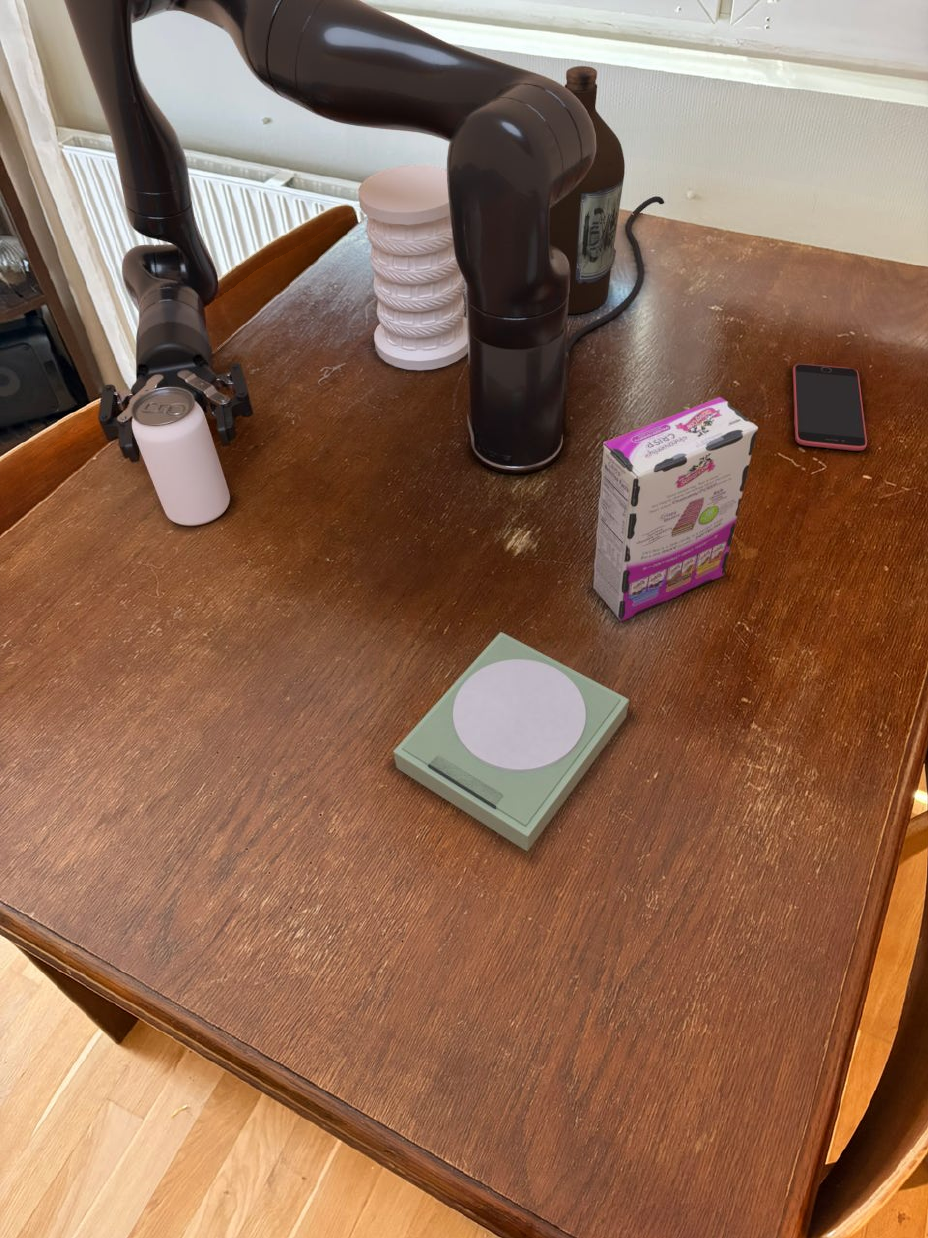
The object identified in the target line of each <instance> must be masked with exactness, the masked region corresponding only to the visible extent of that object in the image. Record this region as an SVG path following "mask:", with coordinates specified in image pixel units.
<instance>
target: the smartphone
mask: <svg viewBox="0 0 928 1238" xmlns="http://www.w3.org/2000/svg"><path fill="white" fill-rule="evenodd" d="M861 390H862V389H861V381H860V373H859V371H858V370H857V369H855V368H852V367H844V366H834V365H833V366H832V365H820V364H808V363H797V364H795V365H794V366H793V367H792V391H793V392H792V394H793V419H794V420H793V425H794V440H795V442H796V443H797V444H799V445H801V446H805V447H814V448H824V449H825V448H826V449H833V450H844V451H852V452H853V451H854V452H861V451H864V450H866V448H867V446H868V437H867V430H866V422H865V421H866V420H865V415H864V406H863V405H864V404H863V399H862V397H863V396H862V391H861Z"/></svg>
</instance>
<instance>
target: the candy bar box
mask: <svg viewBox="0 0 928 1238" xmlns="http://www.w3.org/2000/svg"><path fill="white" fill-rule="evenodd" d="M758 430H759V427H758V426H757V425H756V424H755V423H754V422H752V421H751V420H750V419H749V418H747V417H745V416H744V415H743V414H742V413H741V412H740V411H739V410H737V409H736V408H734V407H732V406H731V404H730V402H728V401H727V400H726V399H724V398H722V397H721V396H718V397H716V398H713V399H710V400H708V401H706V402H703V403H701V404H697V405H695V406H693V407H690V408H688V409H685V410H682V411H681V412H677V413H676V414H673V415H670V416H668V417H665V418H662V419H660V420H657V421H655V422H652V423H649V424H647V425H645V426H642V427H639V428H637V429H634V430H631V431H629V432H626V433H624V434H622V435H621V434H620V435H618V436H616V437H613V438H611V439H608V440H606V441H603V442H602V453H601V465H600V467H601V468H600V480H599V481H600V483H599V494H598V495H599V496H598V511H597V513H598V514H597V520H596V521H597V523H596V536H595V537H596V539H595V550H594V562H593V574H592V575H593V576H592V590H594V592H595V593H596V594H597V596H598V597H599V598H600V599H601V600H602V601H603V602H604V604H606V605H607V607H608V608H609V610H610V611H611V612H612V614H614V616H615V617H616V618H617V619H618V620H619V621H620V622H624V621H626V620H628V619H629V620H630V619H631V618H633V617H636V616H638V615H639V614H642V613H644V612H646V611H649V610H650V609H652V608H656V607H657V606H659V605H662V604H664V603H666V602H668V601H670V600H672V599H675V598H676V597H679V596H681V595H683V594H686V593H688V592H690V591H692V590H694V589H697V588H699V587H701V586H703V585H706V584H708V583H710V582H712V581H715V580H717V579H719V578H721V577H723V576H724V575H725V569H726V566H727V562H728V557H729V552H730V549H731V545H732V540H733V535H734V531H735V527H736V522H737V521H738V516H739V515H738V514H739V510H740V504H741V501H742V497H743V493H744V489H745V485H746V484H745V483H746V482H747V481H746V480H747V477H748V471H749V467H750V463H751V459H752V455H753V450H754V445H755V442H756V437H757V433H758Z"/></svg>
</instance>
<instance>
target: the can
mask: <svg viewBox="0 0 928 1238" xmlns="http://www.w3.org/2000/svg"><path fill="white" fill-rule="evenodd" d="M131 415H132V417H133V419H132V430H133V433H134V436H135V439H136V441H137V444H138V446H139V450H140V455H141V456H142V459H143V461H144V464H145V466H146V469H147V472H148V474H149V476H150V479H151V482H152V484H153V486H154V490H155V491H156V494H157V496H158V499H159V501H160V504H161V506H162V509H163V511H164V513H165V515H166V517H167V518H168V519H169V520H170V521H171V522H173V523H176V524H178V525H180V526H184V527H198V526H203V525H207V524H209V523H211V522H213V521H215V520H217V519H219V518H220V517H221V516H222V515H223V514H224V513H225V512H226V511H227V509H228V507H229V504H230V501H231V494H230V490H229V488H228V487H229V486H228V484H227V481H226V478H225V475H224V471H223V468H222V464H221V462H220V461H221V460H220V458H219V454H218V452H217V448H216V445H215V442H214V439H213V436H212V433H211V431H210V427H209V424H208V421H207V417H206V416H205V415H204V412H203V410H202V408H201V407H200V405H199V404H198V403H197V402H196V401H195V399H194V396H193V395H192V393H190V392H189V391H188V390H186V389H183V388H179V387H162V388H158V389H154V390H151V391H149V392H147V393H145V394H143V395H142V396H140V397H139V398H138V399H137V400H136V401H135V402H134V403H133V405H132V407H131Z"/></svg>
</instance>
